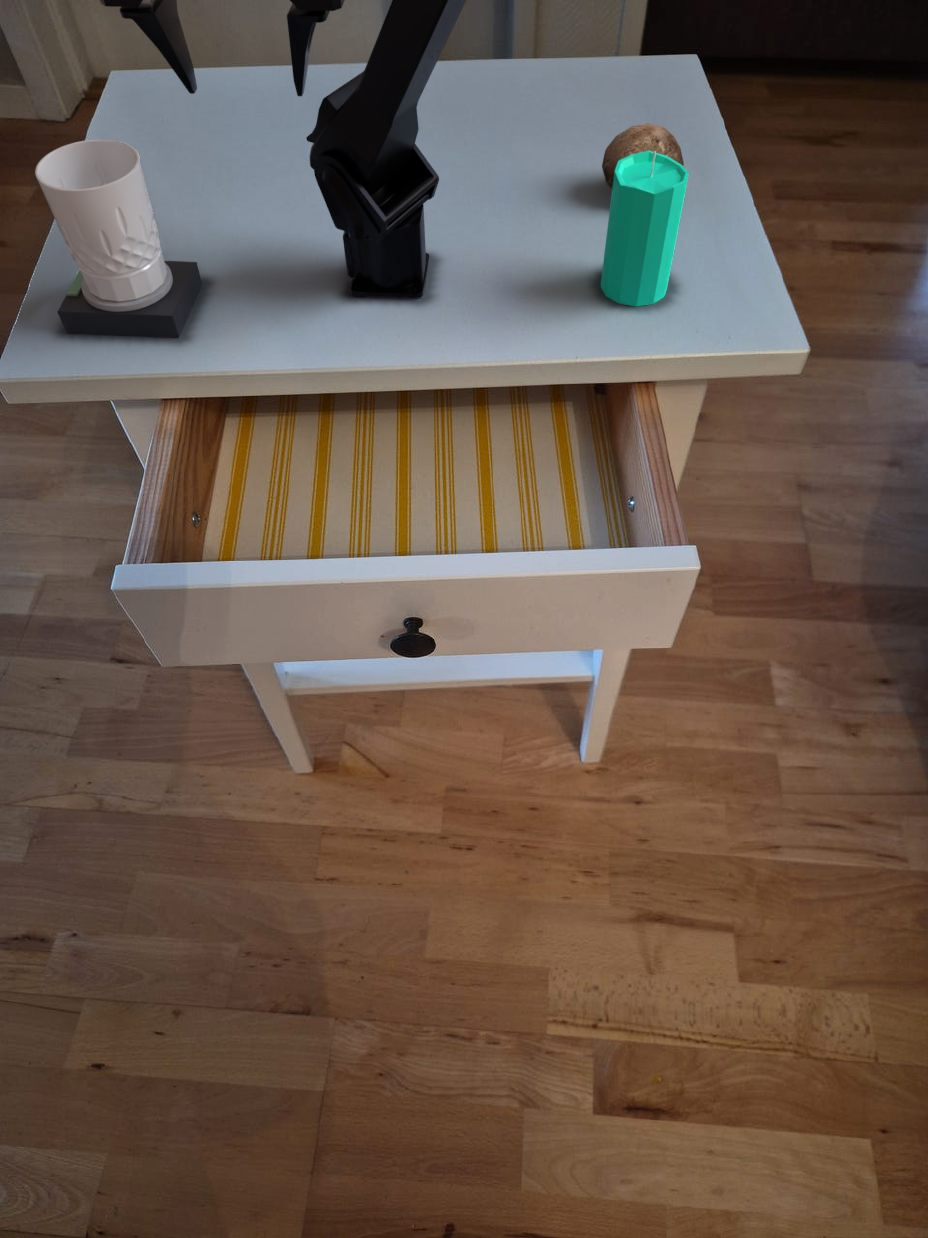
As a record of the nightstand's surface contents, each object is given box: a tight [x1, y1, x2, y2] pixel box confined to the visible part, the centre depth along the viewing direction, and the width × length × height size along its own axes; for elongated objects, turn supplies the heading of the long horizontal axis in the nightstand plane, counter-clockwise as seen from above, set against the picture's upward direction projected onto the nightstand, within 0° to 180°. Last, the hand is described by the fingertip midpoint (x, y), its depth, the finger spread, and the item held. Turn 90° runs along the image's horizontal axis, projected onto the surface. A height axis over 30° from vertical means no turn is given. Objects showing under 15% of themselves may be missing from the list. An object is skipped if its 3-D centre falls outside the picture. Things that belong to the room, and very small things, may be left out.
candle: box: [599, 151, 690, 307], centre depth 76 cm, size 6×6×12 cm
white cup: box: [34, 138, 167, 302], centre depth 74 cm, size 8×8×10 cm
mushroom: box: [601, 123, 685, 191], centre depth 89 cm, size 8×8×6 cm
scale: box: [56, 260, 203, 339], centre depth 79 cm, size 10×8×3 cm
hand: (247, 92), depth 76 cm, fingers open, 9 cm apart
